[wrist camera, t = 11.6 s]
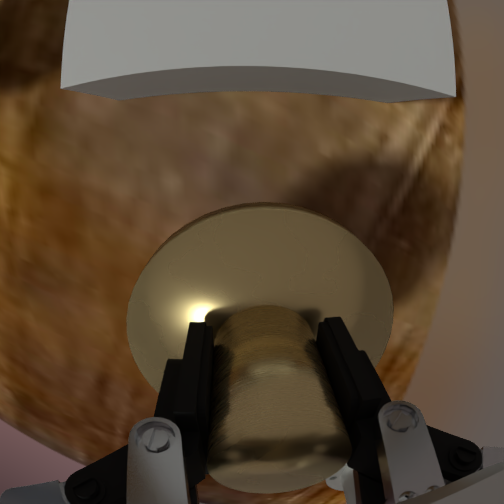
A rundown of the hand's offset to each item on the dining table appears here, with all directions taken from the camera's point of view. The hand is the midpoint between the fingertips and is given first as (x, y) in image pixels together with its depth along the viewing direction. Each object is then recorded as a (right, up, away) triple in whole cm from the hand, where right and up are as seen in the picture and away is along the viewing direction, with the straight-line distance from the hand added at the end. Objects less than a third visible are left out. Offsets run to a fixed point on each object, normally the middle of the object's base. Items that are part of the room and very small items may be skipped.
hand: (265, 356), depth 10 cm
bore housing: (0, +18, +1) cm, 18 cm away
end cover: (0, +2, +6) cm, 6 cm away
